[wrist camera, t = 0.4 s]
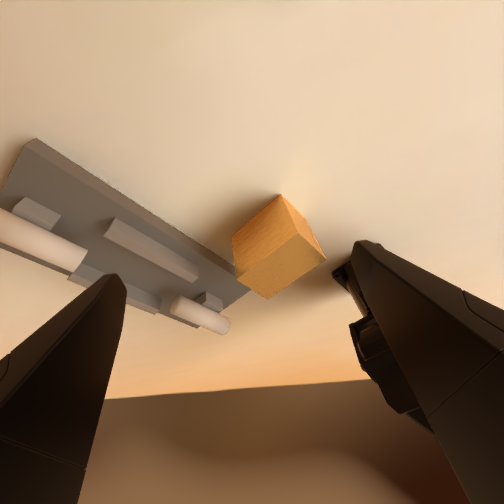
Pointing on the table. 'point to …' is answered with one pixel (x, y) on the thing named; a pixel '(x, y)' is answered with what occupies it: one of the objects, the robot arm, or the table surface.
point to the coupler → (275, 249)
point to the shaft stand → (110, 240)
